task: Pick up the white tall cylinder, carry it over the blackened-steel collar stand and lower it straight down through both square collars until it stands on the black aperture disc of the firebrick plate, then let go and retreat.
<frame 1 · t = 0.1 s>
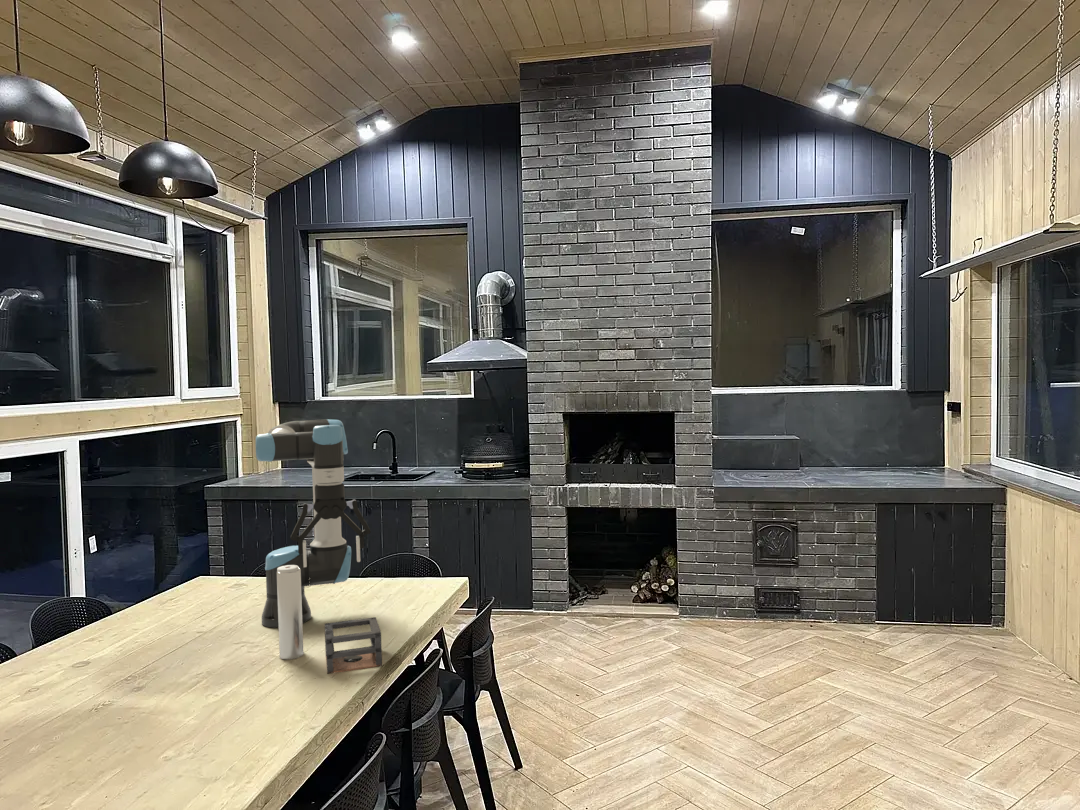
hand: (332, 563, 188), 28 cm above the table, fingers open, 13 cm apart
collar stand: (353, 660, 194), on the table
white tall cylinder: (291, 656, 199), on the table
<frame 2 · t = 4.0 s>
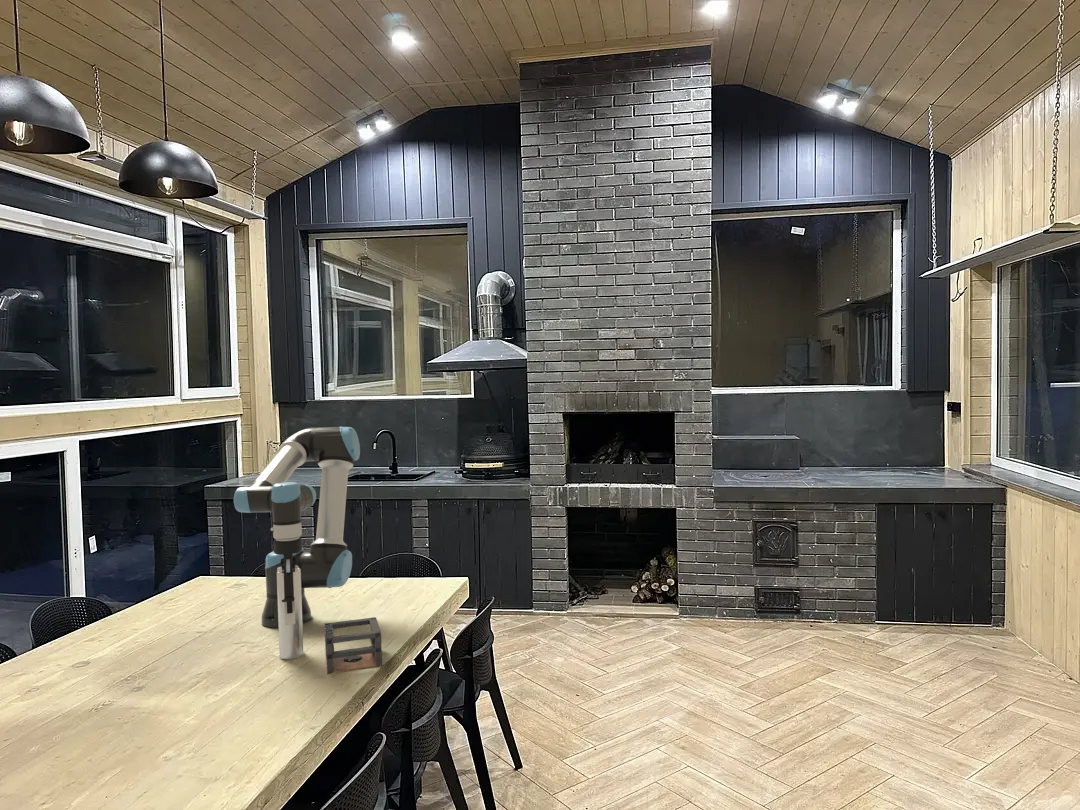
hand: (290, 620, 199), 10 cm above the table, fingers closed on white tall cylinder, 6 cm apart
white tall cylinder: (291, 656, 199), on the table, touching gripper
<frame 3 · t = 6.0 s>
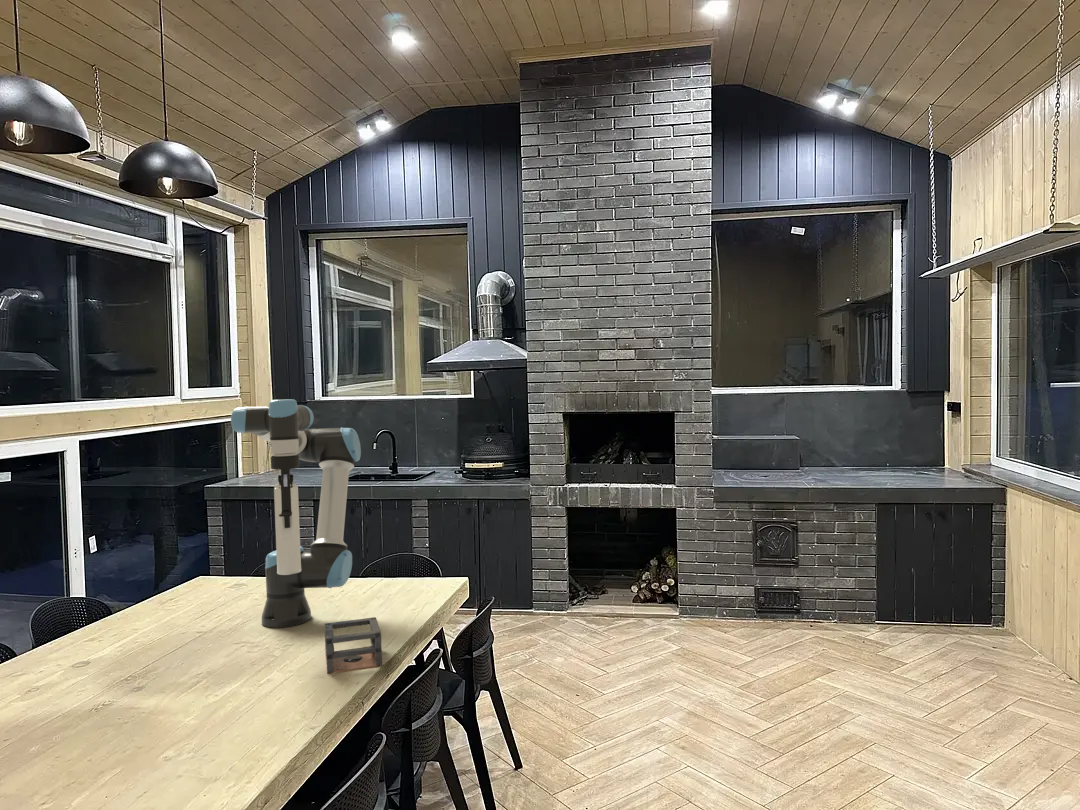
hand: (288, 536, 199), 33 cm above the table, fingers closed on white tall cylinder, 5 cm apart
white tall cylinder: (289, 572, 199), point 23 cm above the table, touching gripper
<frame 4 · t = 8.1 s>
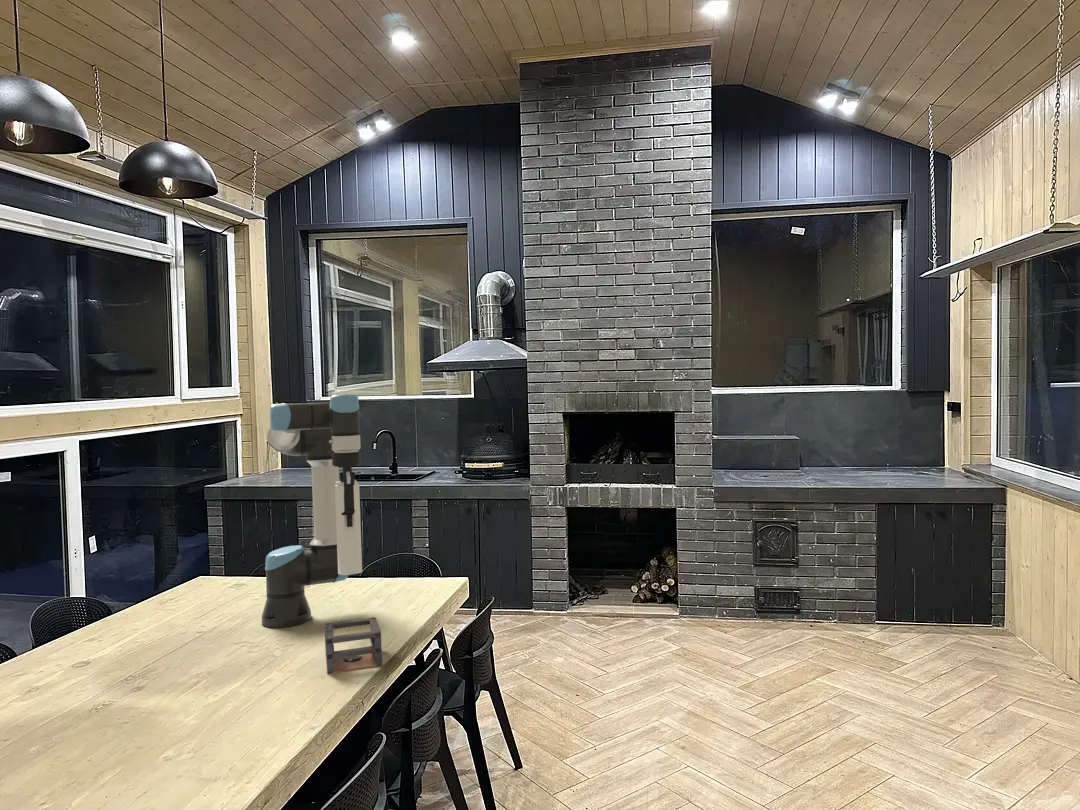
hand: (349, 536, 193), 34 cm above the table, fingers closed on white tall cylinder, 5 cm apart
white tall cylinder: (350, 572, 193), point 24 cm above the table, touching gripper
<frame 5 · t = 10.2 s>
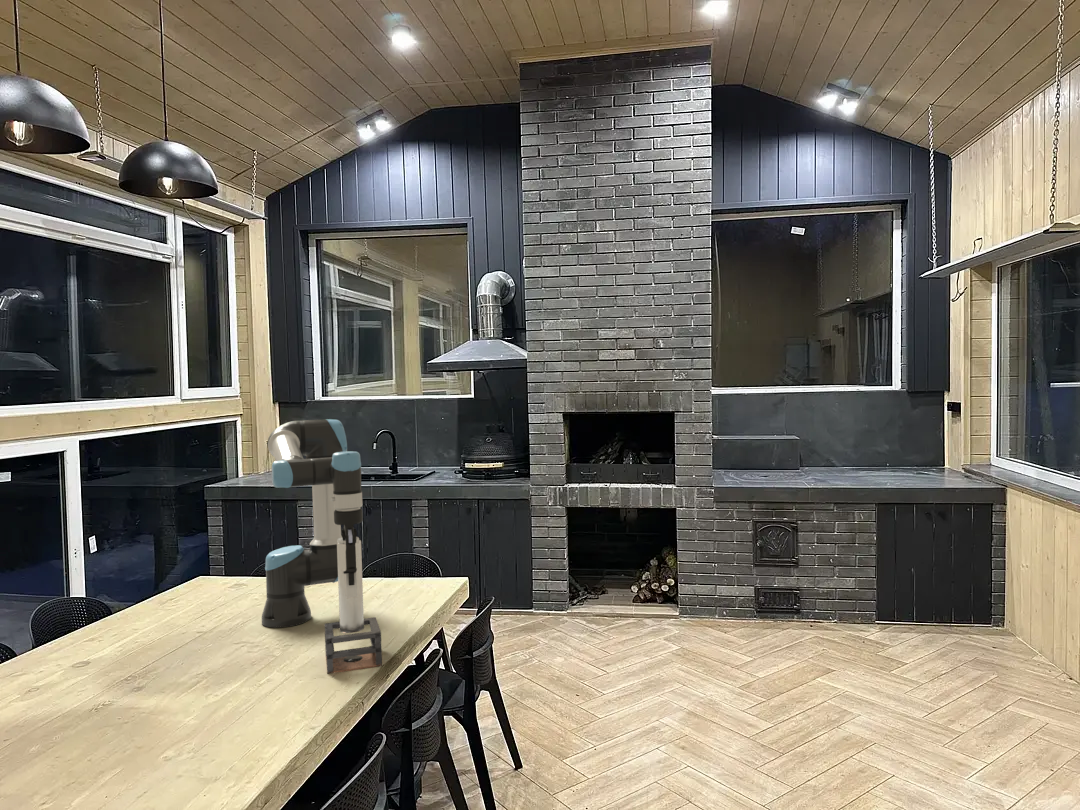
hand: (350, 593, 193), 18 cm above the table, fingers closed on white tall cylinder, 5 cm apart
white tall cylinder: (352, 629, 193), point 8 cm above the table, touching gripper
when the fingers open (11 cm above the table, at t = 12.1 s): white tall cylinder stays where it is, resting on collar stand.
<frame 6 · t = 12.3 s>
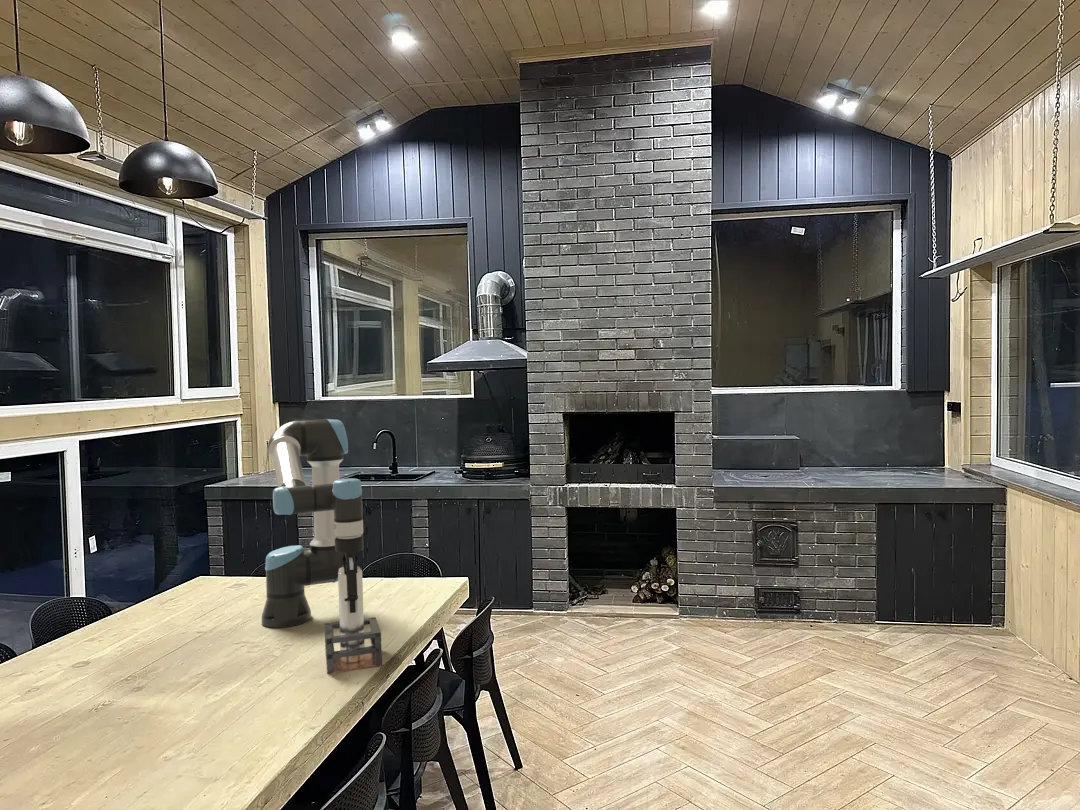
hand: (351, 618, 193), 11 cm above the table, fingers open, 8 cm apart
white tall cylinder: (352, 659, 194), resting on collar stand
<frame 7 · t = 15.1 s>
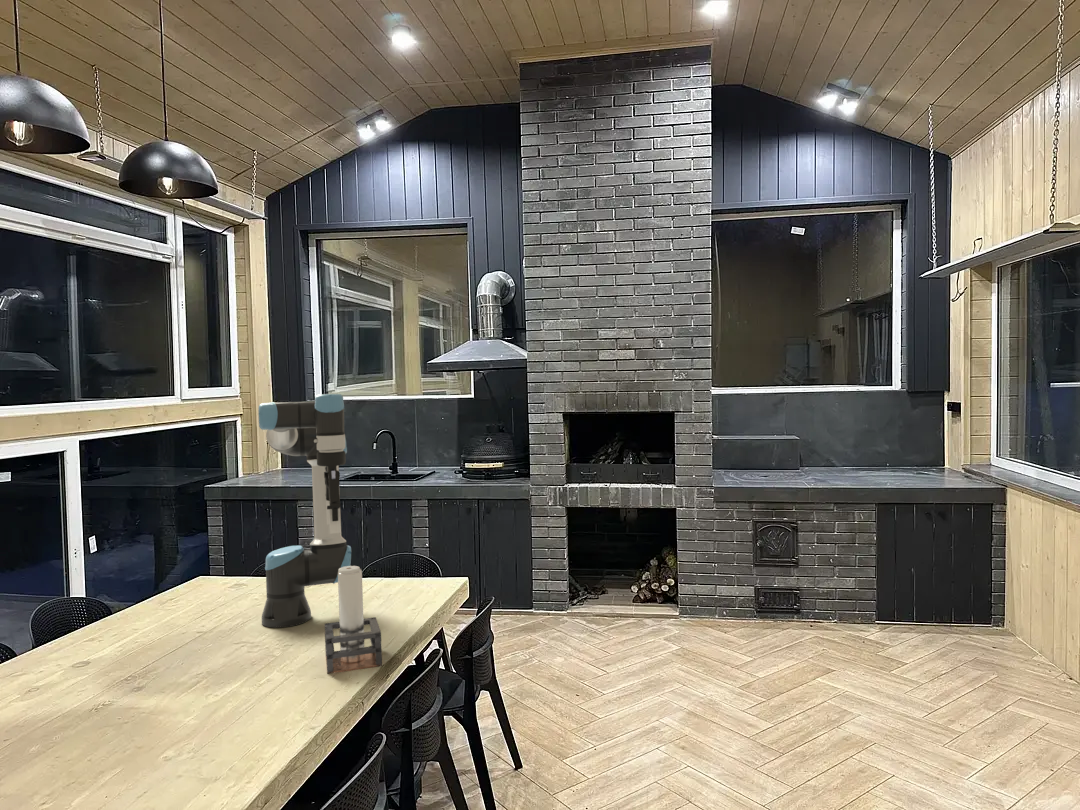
hand: (333, 528, 194), 36 cm above the table, fingers open, 13 cm apart
nothing on the table moved.
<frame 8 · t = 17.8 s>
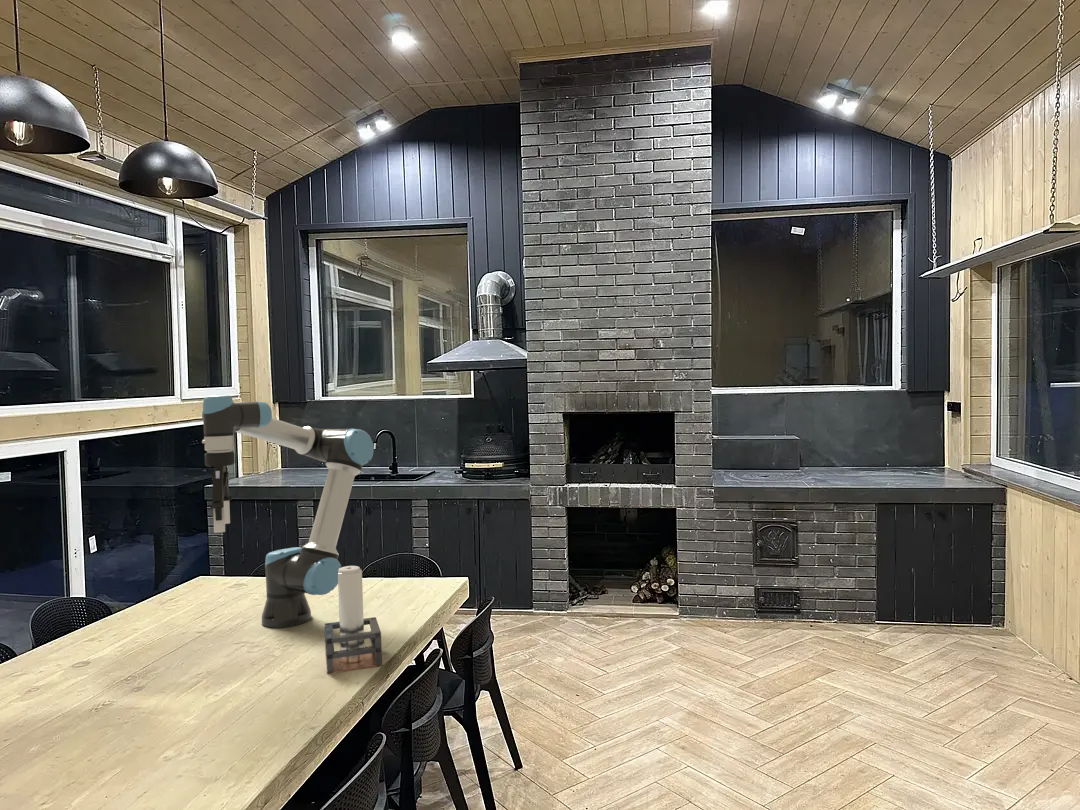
hand: (222, 527, 197), 37 cm above the table, fingers open, 13 cm apart
nothing on the table moved.
at the end: white tall cylinder inside the target area on the collar stand (0.1 cm from its centre), point 0.3 cm above the collar stand's base; white tall cylinder tilted 0°; the gripper is holding nothing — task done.
